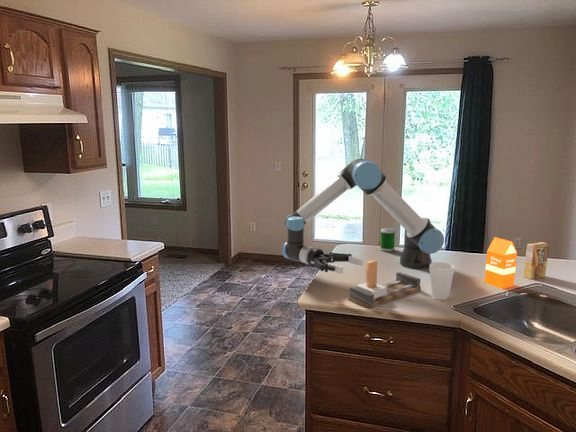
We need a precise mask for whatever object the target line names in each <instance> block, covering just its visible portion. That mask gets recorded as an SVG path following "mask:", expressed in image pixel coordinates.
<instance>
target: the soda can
mask: <svg viewBox="0 0 576 432" xmlns="http://www.w3.org/2000/svg"><path fill="white" fill-rule="evenodd" d="M379 240H380V244H379V245H380V246H379V247H380V250H381V251H382V252H388V253H389V252H393V251H394V250H395V246H396V245H395V244H396V230H395V229H394V228H393V227H383V228H382V229H380V239H379Z"/></svg>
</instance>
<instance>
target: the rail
mask: <svg viewBox="0 0 576 432" xmlns="http://www.w3.org/2000/svg"><path fill="white" fill-rule="evenodd" d="M382 285H383V286H385V287H387V294H386V295H383V296H380V297H377V298H375V299H374V294H371V293H369V292H366V291H364V290H361V289H358V288H356V286H350V287H349V296H348V301H350V302H352V303H354V304H357V305H360V306H363V307H364V308H367V309H371V308H375V307H377V306H380V305H382V304H385V303H388V302H390V301H394V300H396V299H400V298H403V297H405V296H407V295H410V294H413V293H416V292H419V291H421V289H422V288H421V278H419V277H416V276H413V275H410V274H406V273H403V272H402V271H401V272H400V271H399V272H396V274H395V280H394V281H392V282H388V283H385V284H382Z"/></svg>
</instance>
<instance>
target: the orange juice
mask: <svg viewBox="0 0 576 432" xmlns="http://www.w3.org/2000/svg"><path fill="white" fill-rule="evenodd" d="M517 255H518V252H517V249H516V248H515V245H514V243H513V241H512V240H508V239H505V238H501V237H496V236H493V239H492V241H491V243H490V245H489V246H488V249H487V251H486V261H485V262H486V263H485V275H484V283H486V284H487V285H490V286H492V287H496V288H499V289H502V290H503V289H507V288H510V287H514V286H515V276H516V268H517V267H516V266H517V257H518V256H517Z"/></svg>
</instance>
